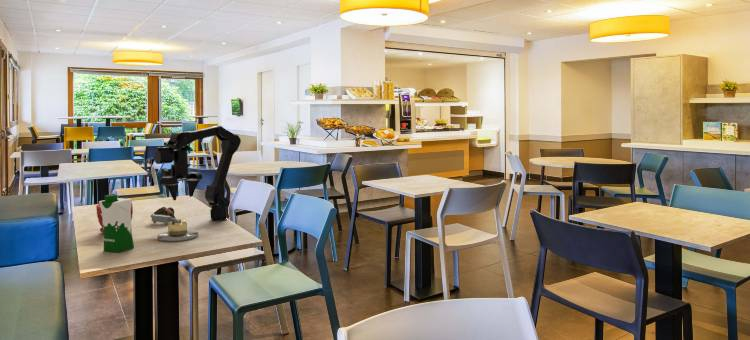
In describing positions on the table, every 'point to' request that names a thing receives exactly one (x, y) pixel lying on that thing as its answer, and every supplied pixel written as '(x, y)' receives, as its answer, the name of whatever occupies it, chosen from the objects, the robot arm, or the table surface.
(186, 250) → the table surface
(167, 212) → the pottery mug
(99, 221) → the plant pot
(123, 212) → the milk carton
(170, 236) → the spindle flange
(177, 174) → the robot arm
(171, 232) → the lever valve handle
